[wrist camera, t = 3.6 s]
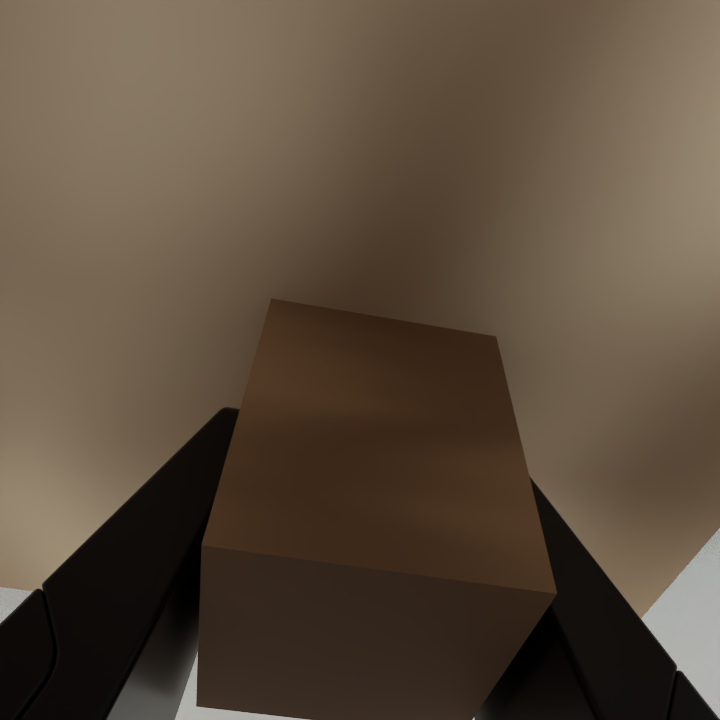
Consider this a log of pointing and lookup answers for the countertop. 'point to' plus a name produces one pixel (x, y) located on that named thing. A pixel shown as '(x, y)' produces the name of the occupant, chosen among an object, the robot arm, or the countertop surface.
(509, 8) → the lid
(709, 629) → the countertop surface
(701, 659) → the countertop surface
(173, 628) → the robot arm
